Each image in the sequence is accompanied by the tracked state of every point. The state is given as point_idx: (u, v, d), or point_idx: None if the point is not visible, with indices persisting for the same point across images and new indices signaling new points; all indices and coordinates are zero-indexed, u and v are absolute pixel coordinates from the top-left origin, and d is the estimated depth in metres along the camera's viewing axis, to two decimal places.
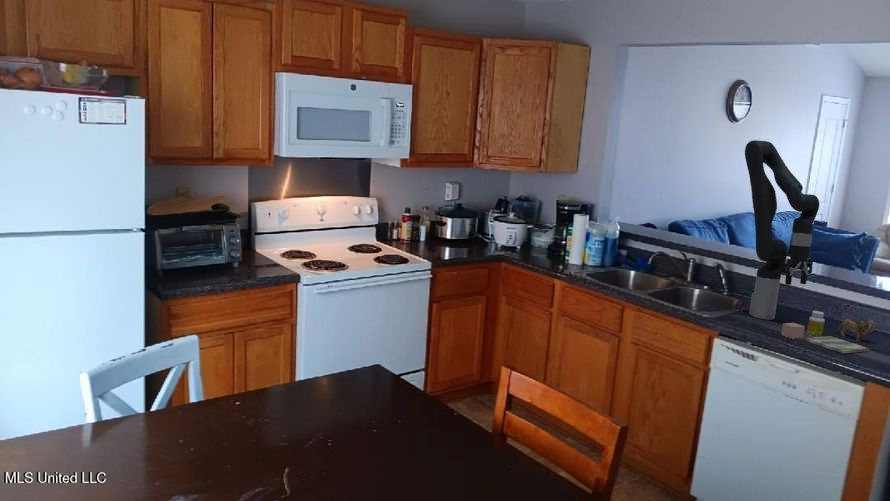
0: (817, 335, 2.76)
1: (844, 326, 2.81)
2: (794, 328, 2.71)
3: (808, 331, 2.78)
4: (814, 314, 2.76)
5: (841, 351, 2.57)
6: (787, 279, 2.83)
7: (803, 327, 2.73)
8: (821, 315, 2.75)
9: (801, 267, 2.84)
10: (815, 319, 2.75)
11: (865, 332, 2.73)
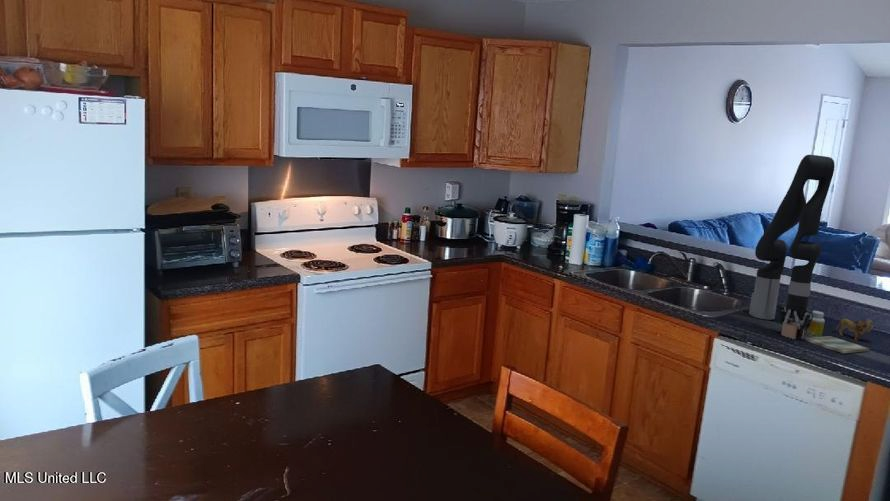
0: (817, 335, 2.76)
1: (842, 325, 2.81)
2: (794, 328, 2.71)
3: (808, 331, 2.78)
4: (814, 314, 2.76)
5: (841, 351, 2.57)
6: (801, 333, 2.71)
7: None
8: (821, 315, 2.75)
9: None
10: (815, 319, 2.75)
11: (863, 331, 2.74)
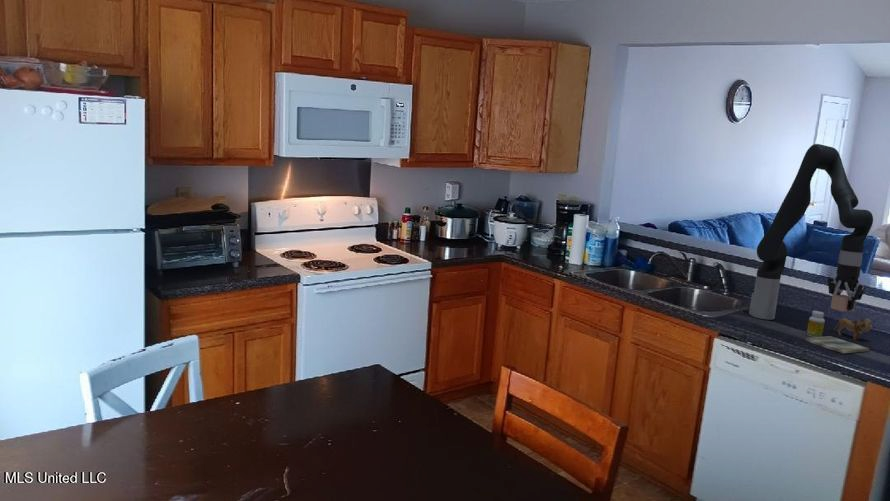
0: (817, 335, 2.76)
1: (841, 325, 2.82)
2: (845, 299, 2.60)
3: (808, 331, 2.78)
4: (814, 314, 2.76)
5: (841, 351, 2.57)
6: (853, 305, 2.60)
7: None
8: (821, 315, 2.75)
9: None
10: (815, 319, 2.75)
11: (862, 331, 2.75)
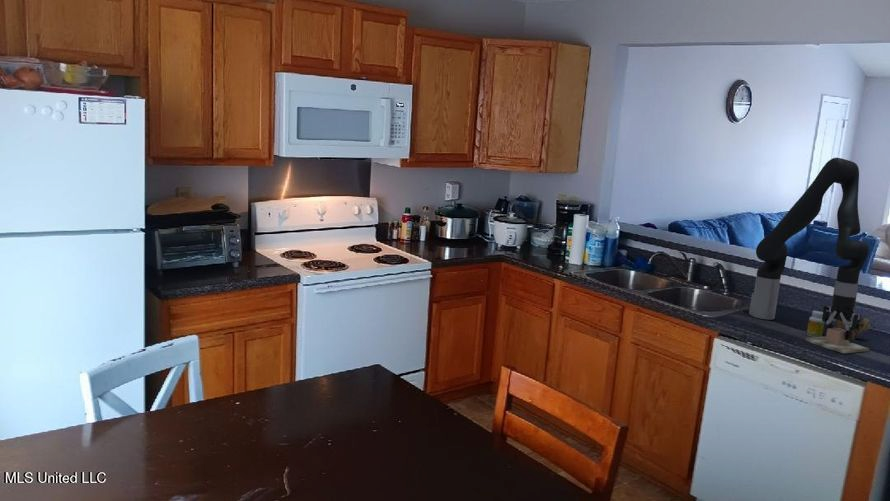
0: (817, 335, 2.76)
1: (839, 325, 2.82)
2: (840, 333, 2.62)
3: (808, 331, 2.78)
4: (814, 314, 2.76)
5: (841, 351, 2.57)
6: (850, 335, 2.61)
7: None
8: (821, 315, 2.75)
9: None
10: (815, 319, 2.75)
11: (860, 331, 2.75)
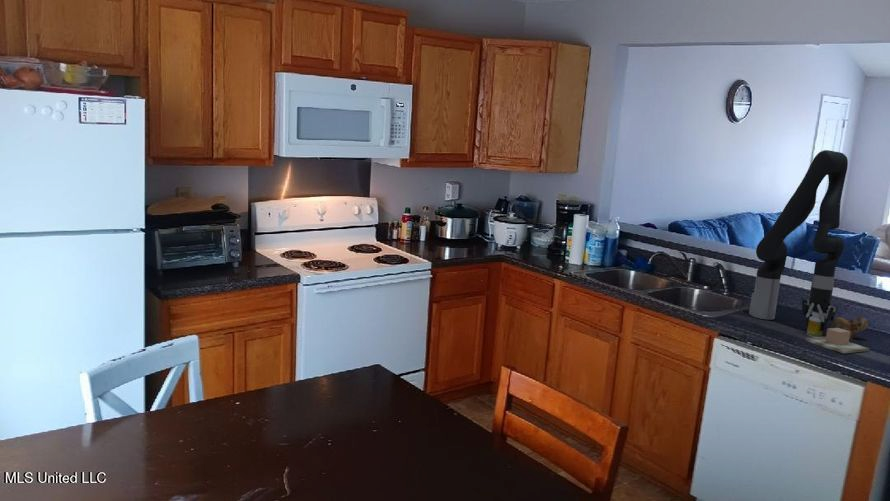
0: (817, 335, 2.76)
1: (837, 324, 2.83)
2: (840, 333, 2.62)
3: (808, 331, 2.78)
4: (814, 314, 2.76)
5: (841, 351, 2.57)
6: (825, 326, 2.74)
7: (849, 332, 2.64)
8: None
9: None
10: (815, 319, 2.75)
11: (858, 330, 2.76)
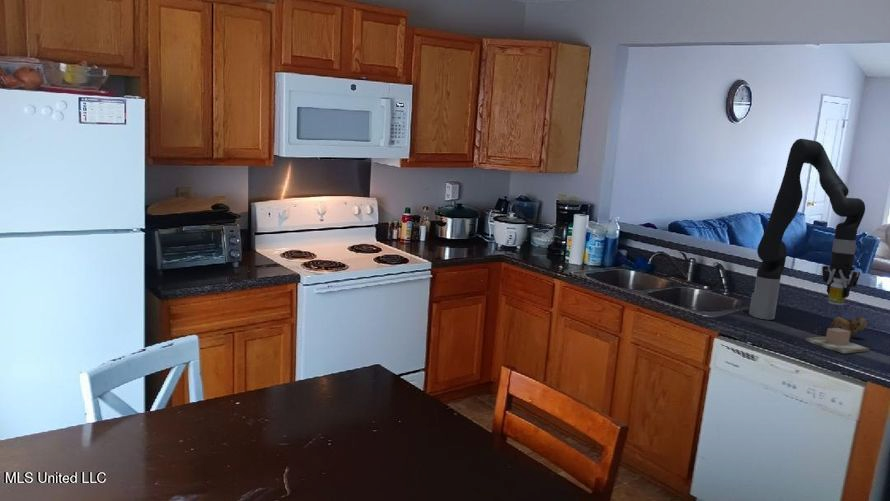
0: (839, 302, 2.65)
1: (836, 324, 2.83)
2: (840, 333, 2.62)
3: (830, 298, 2.68)
4: (836, 280, 2.66)
5: (841, 351, 2.57)
6: (848, 292, 2.64)
7: (849, 332, 2.64)
8: None
9: None
10: (837, 285, 2.65)
11: (857, 330, 2.76)
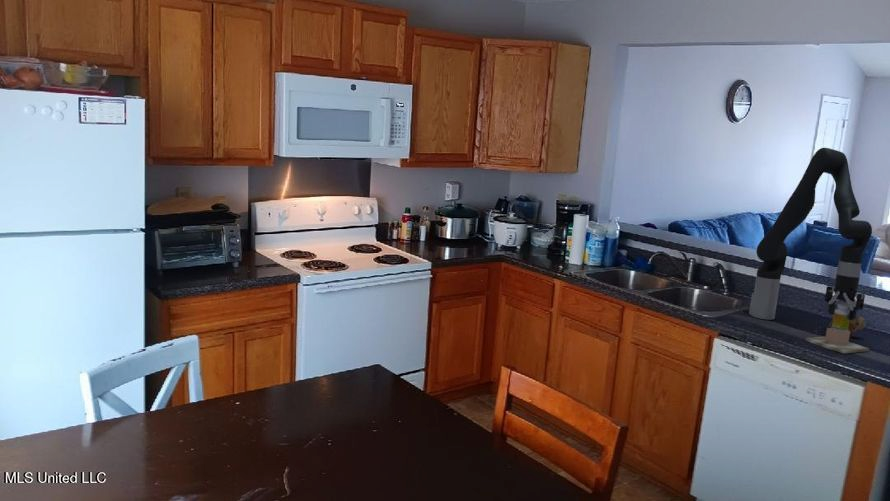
0: (843, 329, 2.63)
1: None
2: (839, 333, 2.62)
3: (833, 324, 2.65)
4: (839, 307, 2.63)
5: (841, 351, 2.57)
6: (854, 315, 2.60)
7: (848, 332, 2.64)
8: (847, 308, 2.62)
9: None
10: (841, 312, 2.62)
11: (856, 329, 2.77)
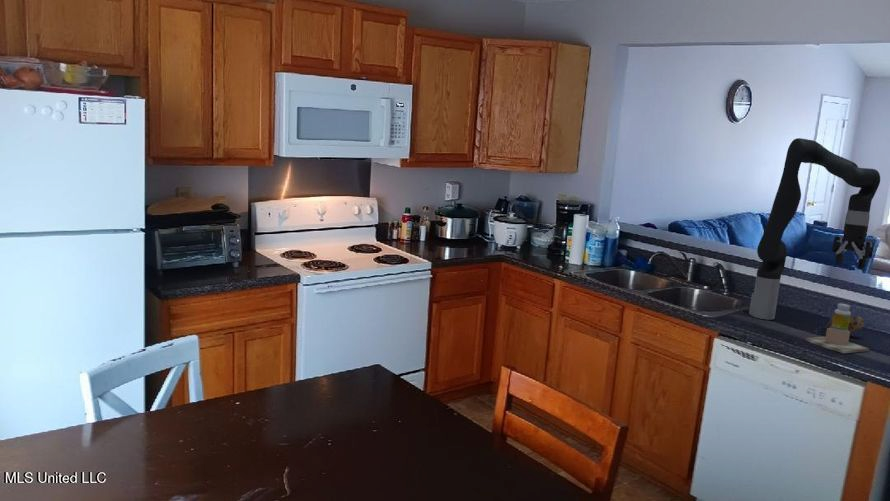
0: (843, 329, 2.63)
1: None
2: (839, 333, 2.62)
3: (833, 324, 2.65)
4: (840, 307, 2.63)
5: (841, 351, 2.57)
6: (864, 264, 2.57)
7: (848, 332, 2.64)
8: (847, 308, 2.62)
9: None
10: (841, 312, 2.62)
11: (854, 329, 2.77)
